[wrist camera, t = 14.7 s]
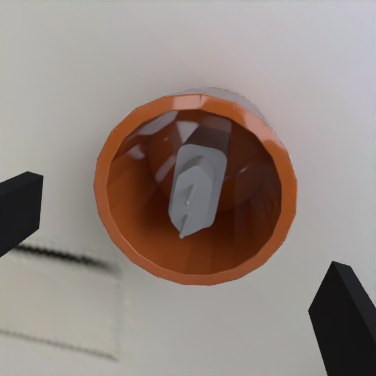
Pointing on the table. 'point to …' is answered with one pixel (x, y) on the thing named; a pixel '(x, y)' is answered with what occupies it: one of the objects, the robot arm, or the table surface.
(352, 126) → the table surface
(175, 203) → the power adapter
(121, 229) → the orange flower pot
